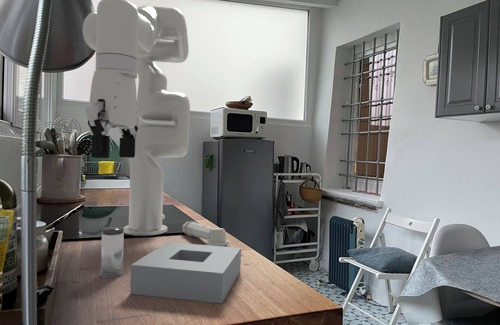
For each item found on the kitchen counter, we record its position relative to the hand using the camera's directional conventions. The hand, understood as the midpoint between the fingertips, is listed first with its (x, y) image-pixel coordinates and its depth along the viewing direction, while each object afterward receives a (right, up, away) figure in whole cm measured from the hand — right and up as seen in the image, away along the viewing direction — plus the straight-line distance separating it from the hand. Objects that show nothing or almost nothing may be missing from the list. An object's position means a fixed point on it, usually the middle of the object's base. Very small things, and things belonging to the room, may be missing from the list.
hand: (114, 157), depth 71 cm
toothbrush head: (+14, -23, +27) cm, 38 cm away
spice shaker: (-1, -23, +1) cm, 23 cm away
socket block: (+15, -23, -2) cm, 28 cm away
